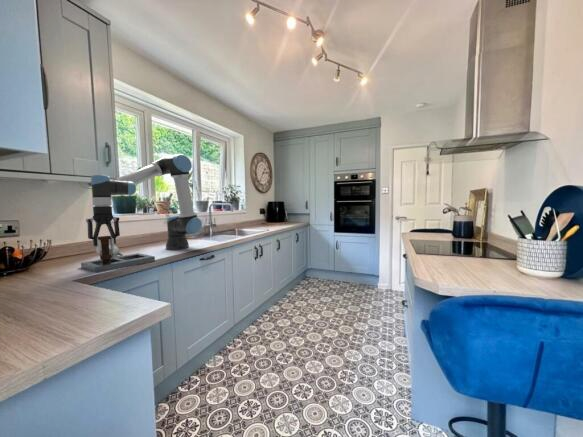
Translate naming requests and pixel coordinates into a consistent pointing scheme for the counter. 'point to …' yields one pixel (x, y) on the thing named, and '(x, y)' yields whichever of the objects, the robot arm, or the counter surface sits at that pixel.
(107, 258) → the bolt
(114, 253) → the ceramic mug
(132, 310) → the counter surface
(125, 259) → the hole plate
